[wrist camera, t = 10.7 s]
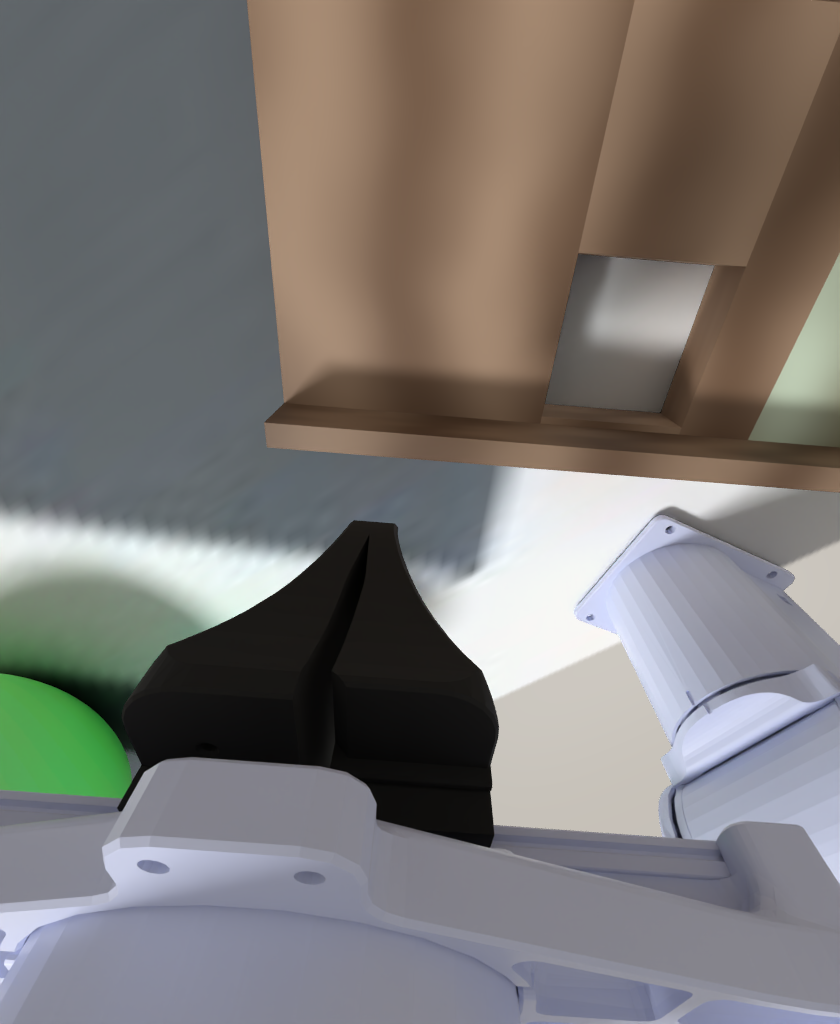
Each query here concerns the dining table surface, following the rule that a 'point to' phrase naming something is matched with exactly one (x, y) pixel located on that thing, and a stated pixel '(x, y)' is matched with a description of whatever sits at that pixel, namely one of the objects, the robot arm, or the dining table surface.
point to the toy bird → (57, 743)
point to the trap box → (552, 225)
